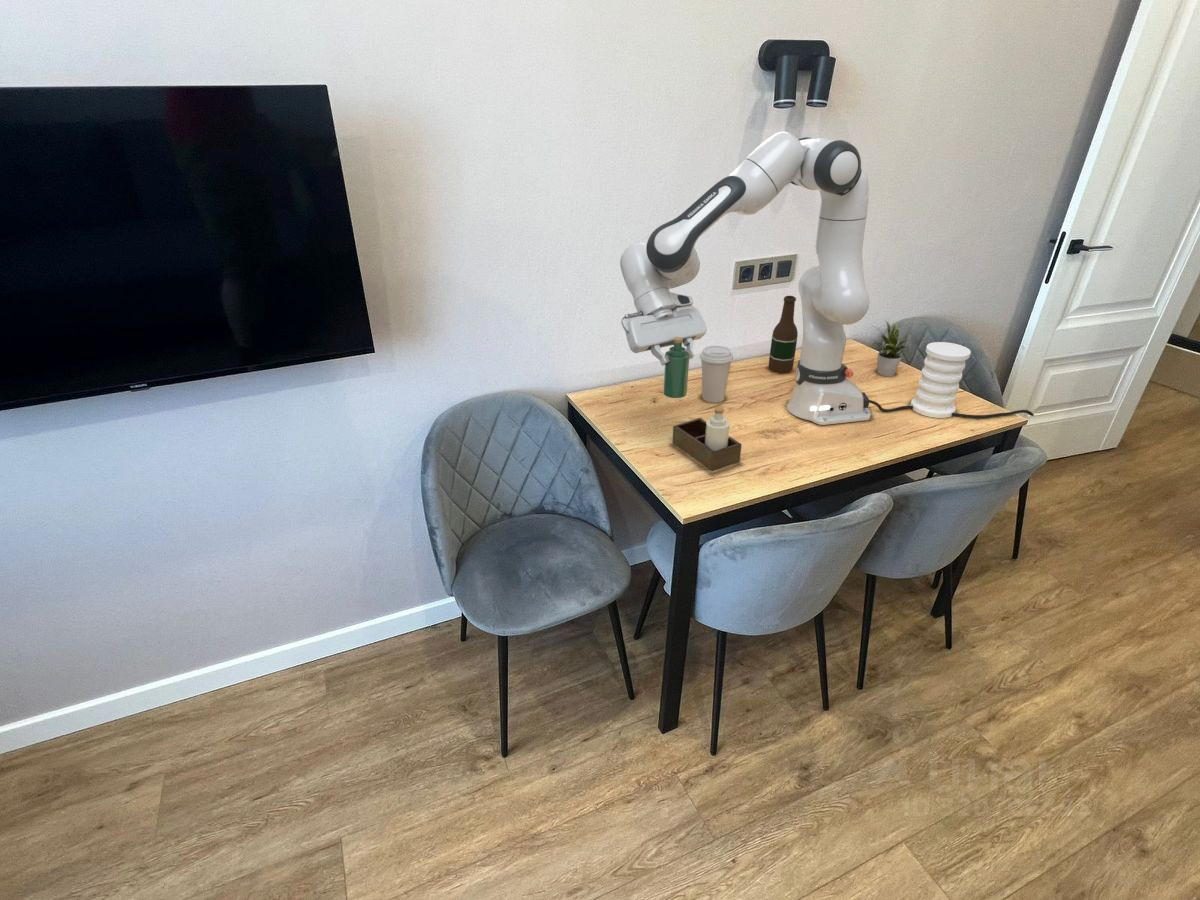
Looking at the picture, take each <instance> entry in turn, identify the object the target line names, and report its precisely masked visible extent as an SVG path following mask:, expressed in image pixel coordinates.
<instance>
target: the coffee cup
mask: <svg viewBox="0 0 1200 900" xmlns="http://www.w3.org/2000/svg"><path fill="white" fill-rule="evenodd" d="M699 359H700V360H701V361H700V363H701V394H702V395H701V397H702V400H703V401H705V402H707V403H715V404H716V403H721V402H723V401H724V400H725V397H726V391H727V385H728V382H729V381H728V380H729V375H730V370H731V365H732V361H733V360H734V355H733V353H732V350H731V348H730V347H727V346H724V345H708V346H705V347H704V348H703V349H702V351H701V352H700V354H699Z"/></svg>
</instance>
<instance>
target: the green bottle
mask: <svg viewBox="0 0 1200 900" xmlns="http://www.w3.org/2000/svg"><path fill="white" fill-rule="evenodd" d="M673 342H674V345H673V346H671V347H669V349H668V350H667V351H665V353H664V355H668V357H669V360H670V362H669V363H668V364H667V365H664V368H663V369H664V370H663V390H662V391H663V392H662V393H663V395H664V396H665V397H667V398H671V399H682V398H684V397H686V396H687V394H688V382H689V381H688V380H689V366H690V359H689V353H688V352H686V347H685V346H683V343H682V342H683V338H681V337H675V338H674V339H673Z"/></svg>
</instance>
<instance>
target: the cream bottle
mask: <svg viewBox="0 0 1200 900" xmlns="http://www.w3.org/2000/svg"><path fill="white" fill-rule="evenodd" d="M724 410H725V408H723V407H722V406H715V407H714V415H712V416H711V417H709V418H708V419H707V420H706V432H705V445H706V446H707V447H709V448H710V449H712V450H713V451H716V450H719V449H722V448H725V447H728V438H729V436H730V427H731V423H730V421H729V420H728V419H727V417H726V416H724Z"/></svg>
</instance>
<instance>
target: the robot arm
mask: <svg viewBox="0 0 1200 900" xmlns="http://www.w3.org/2000/svg"><path fill="white" fill-rule="evenodd" d="M861 159H862V158H861V155H860V153H859V151H858V149H857V147H856V146H854V145H853V144H852V143H850V142H848V141H846V140H843V139H835V138H831V137H824V136H823V137H801V138H797V136H795V135H794V134H792V133H790V132H788V131H779V132H776V133H774V134H773V135H771V136H770V137H768V138H767V139H766V140H764V141H763V142H762V143H760V144H759V145H758V146H756V147H755V149H753V150H752V151H751V152H750V153H748V155H747V156H746V157H745V158H744V159H743V160H742V161H741V162H740V163H739V164H738V165H737V166H736V167H735V168H734V169H733V170H732V171H731V172H729V174H727V175H726V176H725V177H724V178H722V179H720V180H719V181H717V182H716V183H715V184H714V185H712V187H710V188H709V189H708V190H707V191H705V193H703V194H702V195H701V196H699V198H697V200H696V201H694V202H693V203H692V204H690V206H688V207H687V209H685V210H684V211H682V213H680V214H679V215H678V216H677V217H675V218H673V219H672V220H669V221H667V222H665V223H662V224H661V225H659V226H658V227H656V228H655V229H654V230H653V231H652V232H651V233H650V235H649V237H648V239H647V242H644V241H637V242H635V243H633V244H631V245H630V246H629V247H627V248H626V249H625V251H623V253H622V254H621V256H620V260H619V265H620V271H621V275H622V278H623V279H624V280H623V281H624V283H625V286H626V288H627V291H628V292H629V293H630V294H631V296H632V298H633V304H634V307H635V310H636V312H633V313H626V314H624V316H623V317H622V319H621V320H620V321H621V323H620V324H621V326H622V328H623V330H624V331H625V336H626V340H627V344H628V347H629V349H630V351H631V352H632V353H634V354H639V353H644V352H648V351H650V353H651V354H652V356H654V357H655V358H656V359H657V360H659V363H660V365H661V366H665V365H667V364H668V363H669V362H670V360H669V357H668V355H665V353H663V352H662V351H661V348H665V347H670V346H671V347H672V346H674V342H673V339H674V338H675V337H681V338H683V342H682V346H683V347H685V349H686V352H688V353H689V360H692V359H693V358H695V353H694V351H693V347H694V341H698V340H700V339H702V338H703V337H704V336H705V335H706V334H707V331H708V329H707V325H706V322H705V321H704V318H703V316H702V314H701V312H700V311H699V309H698V308H697V307H695V306H694V305H693V304H694V299H693V297H692V296H691V295H687V294H679V293H675V292H671V291H670V289H674V288H678V287H681V286H684V285H687V284H688V283H690V282H692V281H693V280H694V279H695V278H696V276H698V273H699V271H700V266H701V262H700V258H699V255H698V253H697V251H696V248H695V246H696V244H697V241H698V240H699V239H700V237H701V236H702V235H703V234H705V233H706V232H707V231H708V230H709V229H710V228H711V227H712V226H714V225H715V224H716V223H717V222H718V221H719V220H720V219H722V218H723V217H724V216H725V215H727V214H731V213H737V214H739V215H743V216H750V215H751V216H752V215H755V214H757V213H759V212H760V211H761V210H763V209H764V208H765V207H767V206H768V205H769V204H770V203H771V202H772V201H773V200H774V199H775V198H776V197H777V196H778V195H779V194H780V193H781V191H783V189H784V188H786V186H787V185H789V184H791V185H794V186H797V187H798V186H799V187H801V188H804V189H807V190H811V191H818V192H819V194H820V200H821V202H820V207H819V212H818V221H817V230H816V238H815V254H816V256H817V260H818V265H815V266H811V267H810V268H807V269H806V270H805V271H804V272H803V273H802V275H801V276H800V278H799V280H798V284H797V288H798V293H799V297H800V300H801V315H802V341H801V350H800V357H799V360H798V361H797V365H796V369H795V376H794V378H795V379H794V380H795V383H794V386H793V390H792V393H791V396H790V399H789V401H788V402H787V404H786V409H787V411H788V412H789V413H790V414H791V415H793V416H795V417H797V418H800V419H802V420H807V421H810V422H812V423H814V424H816V425H819V426H827V425H835V424H836V425H837V424H843V423H844V424H845V423H855V422H864V421H869V420H870V419H871V414H872V413H871V409H870V408H869V405H870V404H871V405H874V406H876V407H877V409H878V410H880V412H883V413H891V412H897V411H901V410H906V409H907V410H908V409H911V410H913V406H910V405H902V406H897V407H894V408H889V409H888V408H883V407H882V405H881V404H879V403H878V402H877V401H875V400H872V399H869V397H868V395H867V394H866V392H865V391H863V392H862V390H861V389H860V388H859V387H858V386H857V385H856V384H855V383H854V382H853V381H852V380H850V379H851V378H853V377H854V375H855V373H854V371H852V369H850V368H848V366H847V365H845V364H844V363H843V359H844V355H845V350H846V344H847V336H846V332H845V329H844V325H846V326H849V325H853V324H856V323H857V322H859V321H860V320H863V318H864V317H865V316H866V314H867V312H868V311H869V308H870V301H871V300H870V296H869V293H868V291H867V289H866V284H865V276H864V274H865V273H864V264H863V263H864V262H863V245H864V238H865V231H866V224H867V218H868V217H867V216H868V212H869V211H868V209H869V195H870V194H869V192H870V190H869V189H870V188H869V185H870V184H869V177H868V174H867V173H866V172H865V170H863V169H862V160H861ZM1016 414H1017V415H1018V414H1027V415H1029V416H1030V417H1034V416H1035V414H1034V413H1033V412H1032V411H1030V410H1028V409H1019V410H1013V411H1009V412H1008V411H1007V412H998V413H991V414H965V413H959V412H955V413H952V414H951V415H952V416H953V417H959V418H969V419H989V418H995V417H1004V416H1005V417H1006V416H1012V415H1016ZM952 416H951V417H952Z"/></svg>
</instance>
